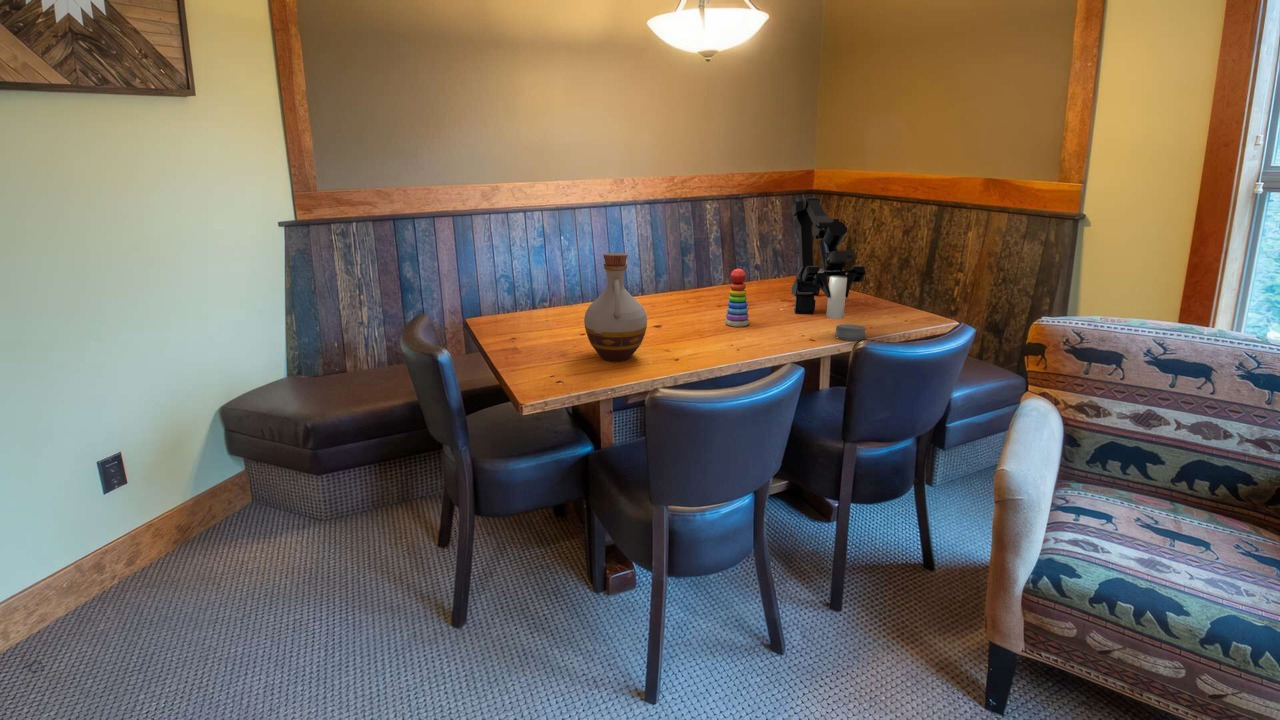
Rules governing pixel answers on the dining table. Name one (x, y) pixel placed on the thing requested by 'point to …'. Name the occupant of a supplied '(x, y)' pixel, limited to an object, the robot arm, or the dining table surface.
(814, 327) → the dining table surface
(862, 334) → the plinth
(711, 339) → the dining table surface
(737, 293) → the stacking toy
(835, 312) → the tapered white cylinder
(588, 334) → the jug
